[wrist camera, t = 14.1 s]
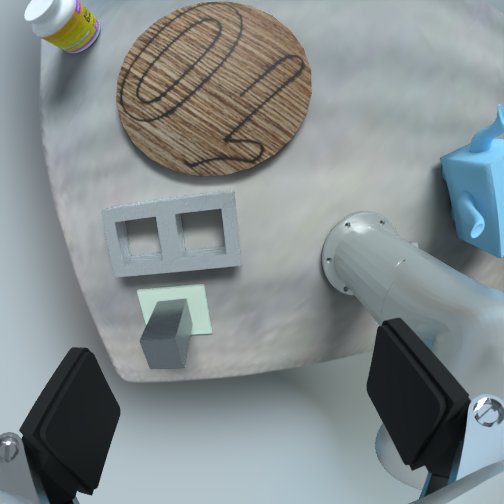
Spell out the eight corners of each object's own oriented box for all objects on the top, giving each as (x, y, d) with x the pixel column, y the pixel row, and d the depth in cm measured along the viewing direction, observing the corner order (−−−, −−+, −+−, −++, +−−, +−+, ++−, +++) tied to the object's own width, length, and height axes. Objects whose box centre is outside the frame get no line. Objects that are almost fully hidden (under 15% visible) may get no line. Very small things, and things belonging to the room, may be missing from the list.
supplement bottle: (108, 32, 27) (68, -4, 15) (73, 62, 28) (24, 38, 16) (92, 10, 25) (54, -24, 13) (59, 38, 26) (13, 13, 14)
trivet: (342, 74, 32) (347, 71, 31) (231, 213, 38) (231, 216, 36) (200, -16, 26) (198, -22, 25) (89, 114, 32) (83, 113, 30)
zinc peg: (186, 298, 40) (175, 338, 30) (192, 324, 41) (184, 367, 32) (157, 301, 40) (139, 340, 30) (164, 326, 41) (150, 369, 32)
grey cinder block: (234, 189, 36) (234, 192, 33) (240, 256, 39) (241, 265, 36) (111, 206, 36) (100, 211, 32) (123, 268, 38) (115, 277, 35)
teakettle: (474, 249, 42) (528, 277, 28) (411, 213, 39) (476, 241, 25) (500, 160, 37) (557, 170, 23) (442, 108, 34) (508, 101, 20)
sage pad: (204, 283, 40) (203, 285, 39) (212, 331, 43) (212, 333, 42) (138, 289, 40) (136, 291, 39) (150, 334, 42) (149, 336, 42)
